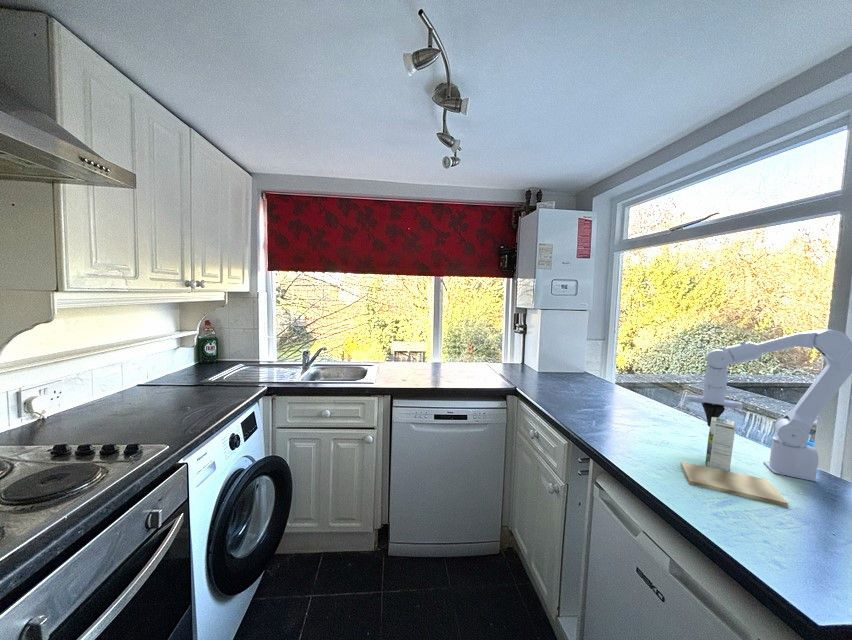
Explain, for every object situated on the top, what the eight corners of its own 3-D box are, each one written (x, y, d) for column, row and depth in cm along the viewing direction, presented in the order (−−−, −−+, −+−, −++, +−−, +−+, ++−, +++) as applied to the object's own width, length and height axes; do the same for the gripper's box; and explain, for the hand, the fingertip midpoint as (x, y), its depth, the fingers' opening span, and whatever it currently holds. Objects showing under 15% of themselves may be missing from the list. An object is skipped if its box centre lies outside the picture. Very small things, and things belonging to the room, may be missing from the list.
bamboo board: (766, 482, 99) (767, 479, 99) (787, 506, 88) (788, 503, 88) (680, 464, 108) (680, 461, 108) (689, 483, 97) (689, 480, 97)
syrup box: (705, 460, 112) (710, 415, 111) (729, 466, 108) (735, 420, 107) (704, 466, 108) (710, 420, 106) (730, 473, 104) (736, 425, 103)
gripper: (739, 386, 117) (734, 426, 118) (685, 380, 124) (681, 418, 125) (746, 391, 111) (741, 434, 112) (689, 384, 117) (685, 424, 118)
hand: (710, 426), depth 118 cm, fingers closed
